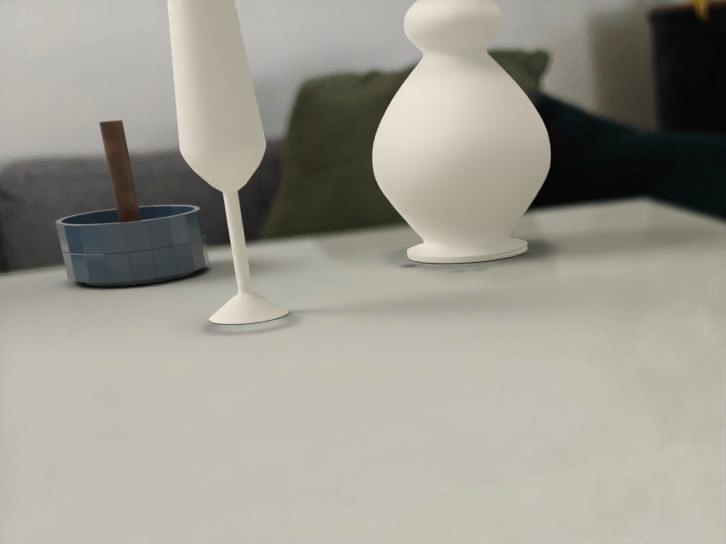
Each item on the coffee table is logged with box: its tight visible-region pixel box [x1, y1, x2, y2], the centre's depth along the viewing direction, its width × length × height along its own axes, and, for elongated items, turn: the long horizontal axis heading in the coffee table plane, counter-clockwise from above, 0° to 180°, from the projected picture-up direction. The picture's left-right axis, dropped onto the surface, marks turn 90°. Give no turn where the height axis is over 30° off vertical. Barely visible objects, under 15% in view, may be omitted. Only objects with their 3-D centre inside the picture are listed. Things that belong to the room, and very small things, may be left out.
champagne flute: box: [166, 0, 290, 325], centre depth 89 cm, size 7×7×24 cm
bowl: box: [55, 204, 210, 287], centre depth 115 cm, size 14×14×6 cm
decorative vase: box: [371, 0, 552, 264], centre depth 111 cm, size 18×18×25 cm
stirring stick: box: [99, 119, 141, 223], centre depth 113 cm, size 5×5×14 cm
